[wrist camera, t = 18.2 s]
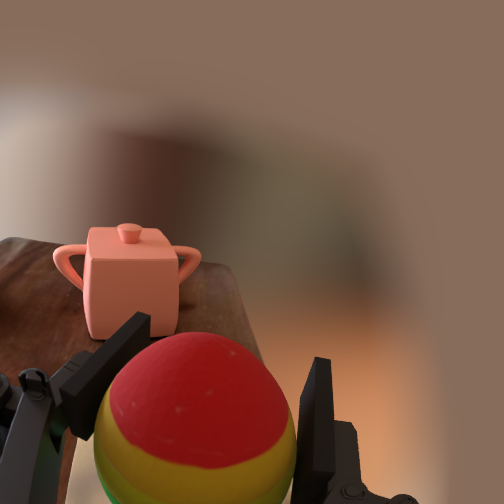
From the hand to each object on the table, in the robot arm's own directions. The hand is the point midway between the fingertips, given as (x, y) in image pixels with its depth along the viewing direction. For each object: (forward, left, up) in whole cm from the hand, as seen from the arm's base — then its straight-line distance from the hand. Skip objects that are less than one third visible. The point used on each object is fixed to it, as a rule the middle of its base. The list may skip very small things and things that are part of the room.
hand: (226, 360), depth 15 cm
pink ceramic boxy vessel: (+25, -23, -17) cm, 38 cm away
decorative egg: (-1, +5, -6) cm, 8 cm away
